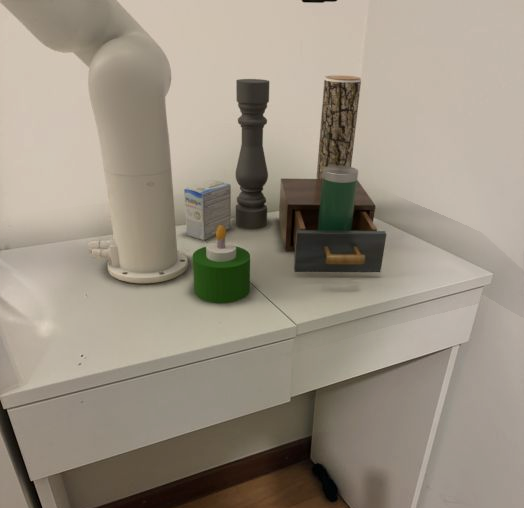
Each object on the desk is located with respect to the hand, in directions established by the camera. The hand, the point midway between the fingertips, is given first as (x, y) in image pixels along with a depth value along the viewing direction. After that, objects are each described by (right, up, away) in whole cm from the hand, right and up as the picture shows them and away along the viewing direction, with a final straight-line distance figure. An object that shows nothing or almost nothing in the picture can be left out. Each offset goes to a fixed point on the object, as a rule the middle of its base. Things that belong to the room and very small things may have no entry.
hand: (318, 1), depth 65 cm
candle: (-13, -35, +12) cm, 39 cm away
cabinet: (+4, -22, +32) cm, 39 cm away
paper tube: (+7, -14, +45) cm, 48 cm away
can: (+5, -27, +21) cm, 34 cm away
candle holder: (-9, -19, +37) cm, 43 cm away
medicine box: (-17, -22, +32) cm, 42 cm away
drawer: (+5, -29, +20) cm, 36 cm away
